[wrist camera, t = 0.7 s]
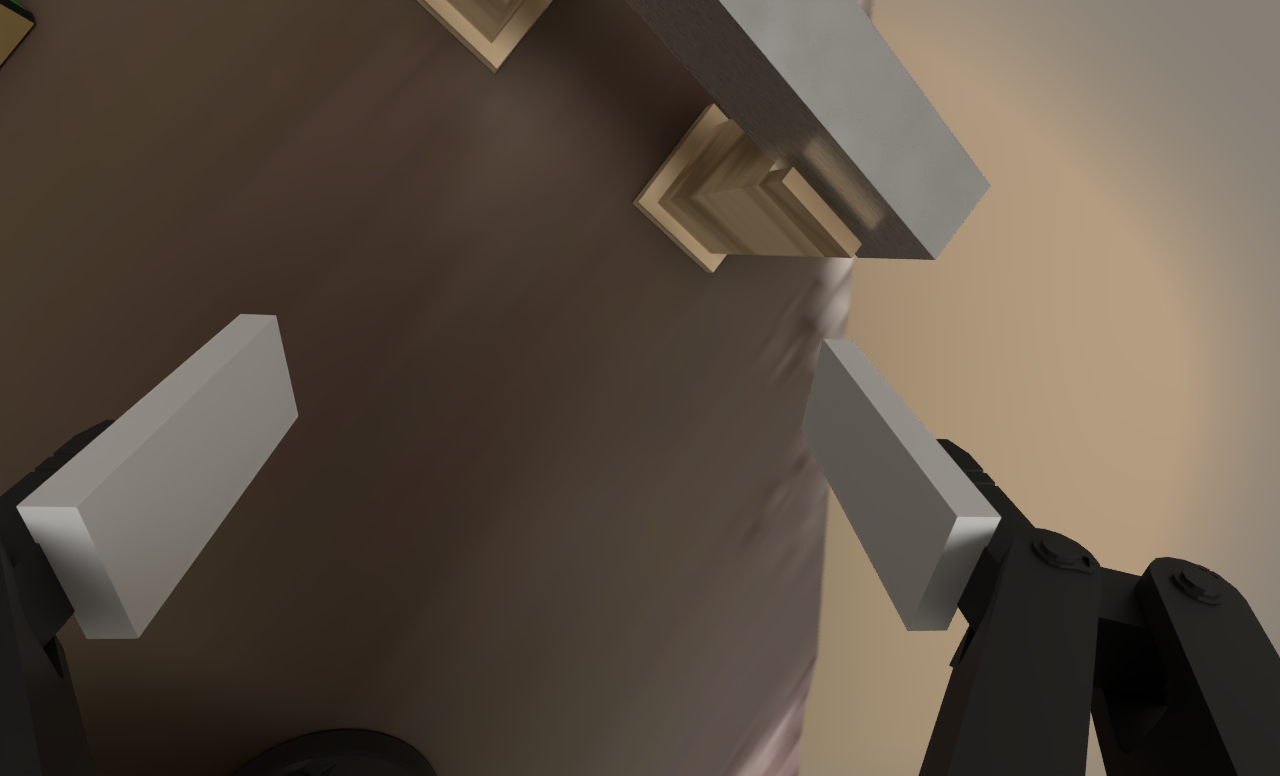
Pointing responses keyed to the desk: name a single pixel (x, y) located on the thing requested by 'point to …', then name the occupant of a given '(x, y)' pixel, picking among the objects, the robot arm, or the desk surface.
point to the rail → (830, 113)
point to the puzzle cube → (12, 26)
